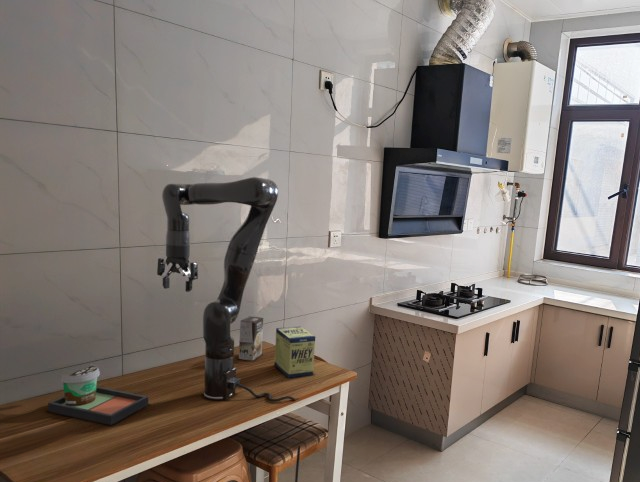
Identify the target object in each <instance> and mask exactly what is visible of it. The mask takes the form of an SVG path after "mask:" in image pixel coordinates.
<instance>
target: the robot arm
mask: <svg viewBox="0 0 640 482" xmlns="http://www.w3.org/2000/svg"><path fill="white" fill-rule="evenodd" d="M278 198H279V188H278V185H277V184H276V182H275V181H274V180H271V179H269V178H263V177H259V176H252V177H247V178H244V179H239V180H235V181H227V182H196V183H190V184H189V183H168V184H166V185H165V186H164V187H163V189H162V192H161V200H162V204H163V207H164V211H165V215H166V234H165V257H166V258H165V257H159V258H158V259H157V267H156V269H157V270H156V274H157V276H160V277H161V279H162V287H163V289H166V290H167V289H169V288H170V281H171V279H170V278H171V277H170V275H171V274H172V273H177V274H181V276H182V277H183V278H184V279H185V290H184V291H185V292H186V293H189V292H191V291H193V281H194V280H198V278H199V268H198V267H199V266H198V262H197V261H194V262H192V261H190V254H191V253H190V252H191V251H190V250H191V249H190V248H191V234H190V215H189V214H188V213H186V212H184V211H183V209H182V206H190V205H191V206H192V205H199V206H201V205H202V206H205V205H206V206H207V205H219V204H223V203H224V204H225V203H234V204H242V205H245V206H250V208H249V211H248V214H247V216H246V218H245V220H244V221H243V222H242V224H241V225H240V227H238V228H237V230H236V231H235V233H234V234H233V235H232V237H231V238H230V240H229V243H228V245H227V248H226V252H225V254H224V258H223V283H222V286H221V289H220V291H219V294H218V297H217V298H216V299H215V300H214V301H211V302H209V303H208V304H207V305H205V307H204V309H203V312H202V313H203V314H202V335H203V340H204V343H205V345H204V346H205V347H204V379H203V381H204V382H203V384H204V385H203V386H204V387H203V388H204V389H203V397H204V398H205V399H206V400H207V399H208V400H211V401H227V400H229V399H230V398H232V397H233V396H235V395H236V389H237V388H238V387H239V388H241V389H244V390H246V391H248V392H249V393H250V394H251V395H252V396H253V397H255V398H257V399H258V398H262V397H265V396H267V400H268V401H270V402H273V403H274V402H280V401H284V400H288V399H289V400H292V401H293V402H297V399H296V398H295V397H293V396H291V395H285V396H281V397H277V398H272V397H271V394H270V393H269V392H263V393H260V394H257V393H255V392H254V391H253V390H252V389H251V388H249V387H247V386H245V385H244V384H241V378H239V377H237V368H236V367H234V365H235V338H234V336H231V325H232V324H233V323H234V322H235V321H237V319H238V317H239V315H240V312H241V311H240V310H241V305H242V300H243V295H244V292H245V289H246V286H247V283H248V281H249V278H250V275H251V271H252V269H253V266H254V263H255V261H256V258H257V254H258V252H259V251H258V250H259V247H260V244H261V241H262V238H263V235H264V232H265V230H266V227H267V224H268V221H269V220H270V218H271V215H272V213H273V211H274V209H275V206H276V203H277V201H278ZM300 455H301V445H298V447H297V453H296V464H295V477H294V482H298V481H299V469H300V468H299V467H300V457H301V456H300Z"/></svg>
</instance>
